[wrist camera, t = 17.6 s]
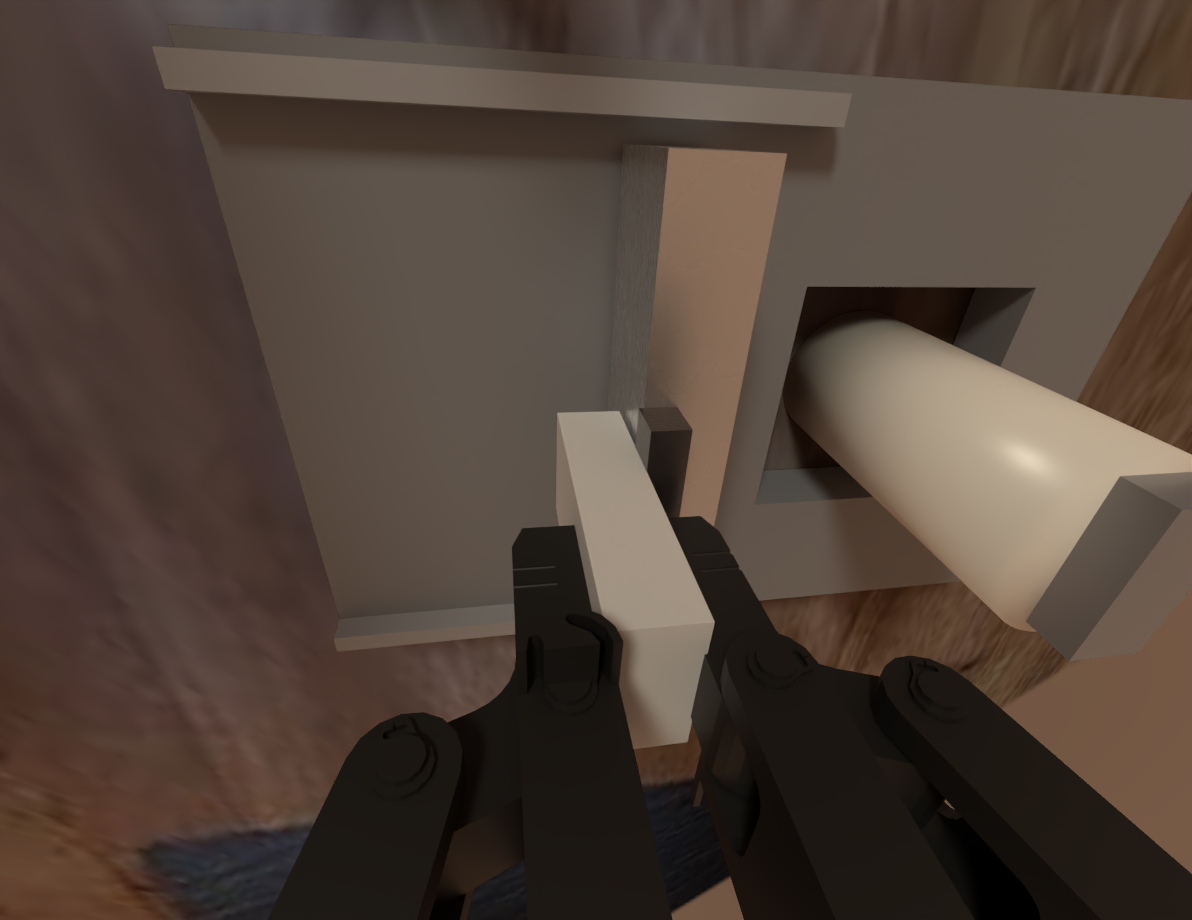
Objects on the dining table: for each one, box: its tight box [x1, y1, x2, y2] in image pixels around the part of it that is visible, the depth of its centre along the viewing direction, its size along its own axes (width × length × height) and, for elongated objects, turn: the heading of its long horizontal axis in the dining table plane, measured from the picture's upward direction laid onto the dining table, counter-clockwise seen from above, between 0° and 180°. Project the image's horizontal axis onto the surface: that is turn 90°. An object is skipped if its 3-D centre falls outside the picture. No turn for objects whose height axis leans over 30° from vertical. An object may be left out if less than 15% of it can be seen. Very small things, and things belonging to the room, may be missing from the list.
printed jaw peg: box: [783, 310, 1192, 661], centre depth 14 cm, size 4×4×10 cm
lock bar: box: [608, 144, 787, 527], centre depth 13 cm, size 2×13×4 cm, turn 177°
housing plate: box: [152, 24, 1192, 652], centre depth 16 cm, size 24×16×3 cm, turn 88°
